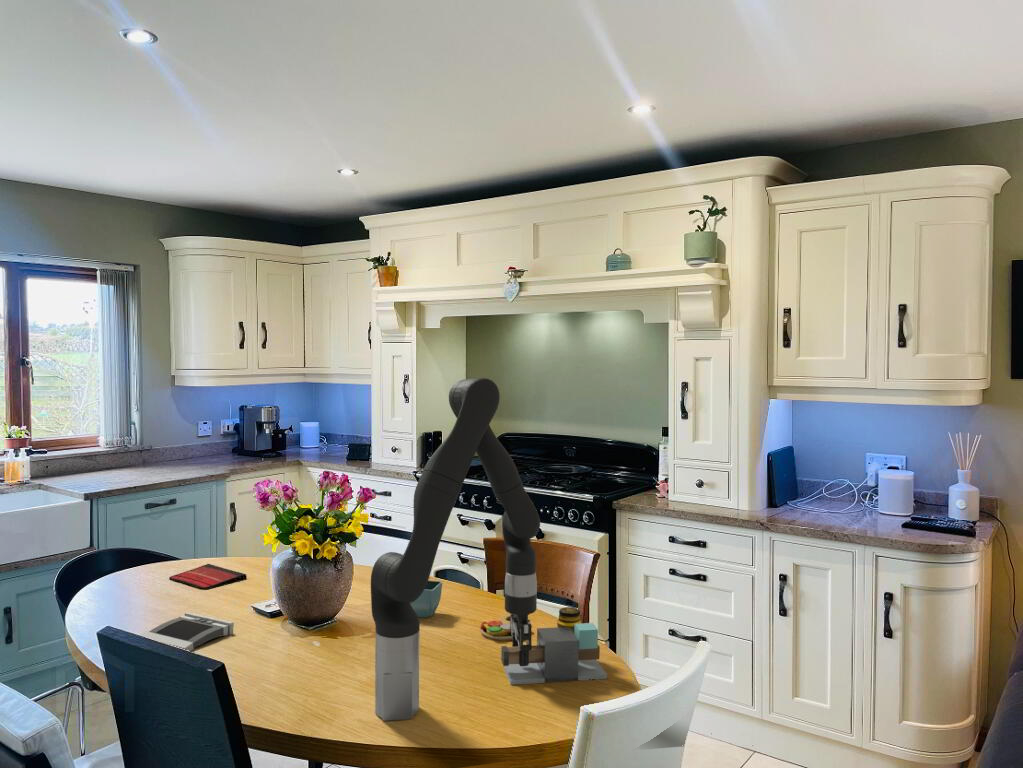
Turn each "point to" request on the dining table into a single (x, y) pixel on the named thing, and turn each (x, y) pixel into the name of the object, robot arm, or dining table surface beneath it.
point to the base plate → (534, 675)
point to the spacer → (586, 635)
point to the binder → (208, 577)
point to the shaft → (541, 654)
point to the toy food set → (497, 629)
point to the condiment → (569, 617)
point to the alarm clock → (190, 630)
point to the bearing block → (558, 653)
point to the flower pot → (428, 599)
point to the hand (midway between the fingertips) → (520, 658)
